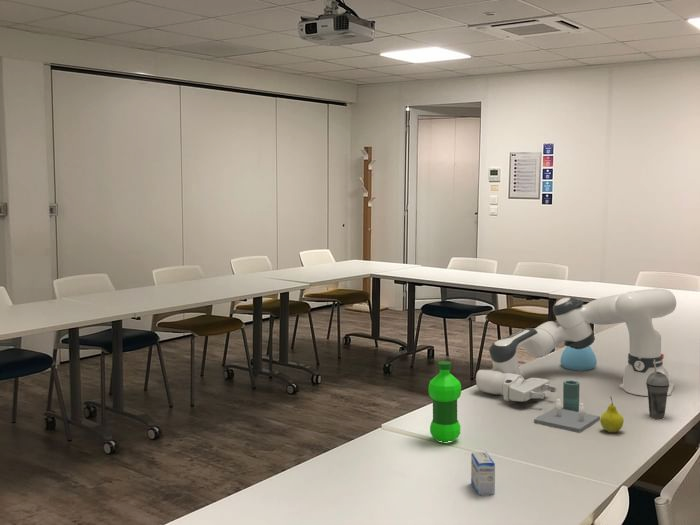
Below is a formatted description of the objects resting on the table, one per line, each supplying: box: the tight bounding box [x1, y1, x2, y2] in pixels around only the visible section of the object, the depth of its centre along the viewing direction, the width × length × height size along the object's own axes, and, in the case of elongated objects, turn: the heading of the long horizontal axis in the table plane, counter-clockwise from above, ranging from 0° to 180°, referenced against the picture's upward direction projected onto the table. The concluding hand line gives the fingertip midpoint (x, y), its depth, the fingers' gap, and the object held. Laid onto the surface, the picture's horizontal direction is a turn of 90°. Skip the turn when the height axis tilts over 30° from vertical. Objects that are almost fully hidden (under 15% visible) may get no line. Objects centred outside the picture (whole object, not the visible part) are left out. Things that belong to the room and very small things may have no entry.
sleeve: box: [562, 380, 580, 412], centre depth 253 cm, size 5×5×10 cm
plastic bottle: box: [428, 360, 462, 442], centre depth 225 cm, size 10×10×25 cm
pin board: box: [533, 398, 601, 434], centre depth 241 cm, size 16×16×7 cm
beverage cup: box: [646, 359, 670, 420], centre depth 242 cm, size 7×7×20 cm
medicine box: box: [470, 451, 496, 496], centre depth 190 cm, size 8×4×9 cm, turn 5°
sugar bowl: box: [560, 345, 598, 371], centre depth 311 cm, size 15×15×12 cm
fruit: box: [599, 396, 624, 434], centre depth 230 cm, size 7×7×12 cm
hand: (550, 392), depth 257 cm, fingers open, 8 cm apart
